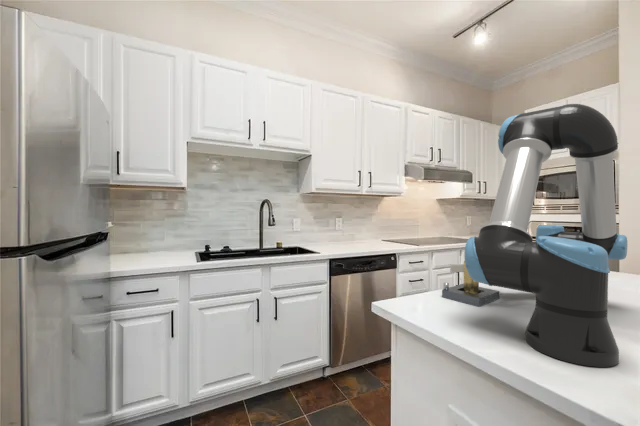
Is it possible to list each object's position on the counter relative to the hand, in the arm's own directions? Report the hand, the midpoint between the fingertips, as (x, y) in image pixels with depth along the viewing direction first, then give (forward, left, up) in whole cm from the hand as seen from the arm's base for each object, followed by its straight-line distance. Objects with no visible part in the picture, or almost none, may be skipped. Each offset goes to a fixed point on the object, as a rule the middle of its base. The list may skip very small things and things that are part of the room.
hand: (461, 272), depth 98 cm
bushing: (+3, -2, -9) cm, 9 cm away
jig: (+3, -2, -9) cm, 9 cm away
